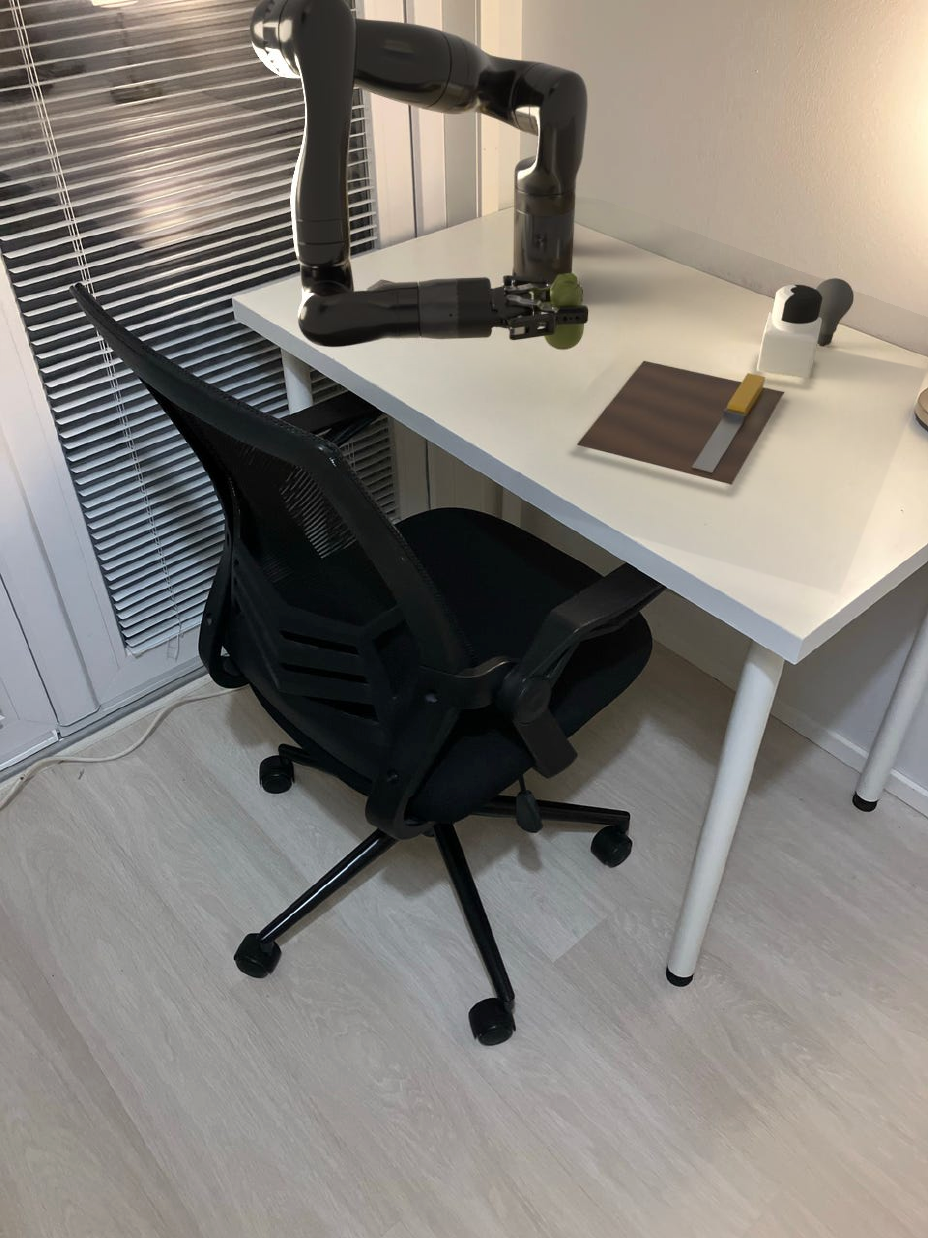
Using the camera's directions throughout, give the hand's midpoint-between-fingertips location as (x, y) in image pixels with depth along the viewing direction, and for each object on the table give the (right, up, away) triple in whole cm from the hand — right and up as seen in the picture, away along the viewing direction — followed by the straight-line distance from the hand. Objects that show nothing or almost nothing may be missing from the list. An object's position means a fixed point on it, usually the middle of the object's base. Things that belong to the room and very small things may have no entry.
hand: (584, 304), depth 136 cm
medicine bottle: (+29, -6, +12) cm, 32 cm away
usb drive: (-25, +8, +29) cm, 40 cm away
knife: (+18, -16, -2) cm, 25 cm away
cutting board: (+13, -16, +2) cm, 20 cm away
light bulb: (+37, -1, +17) cm, 41 cm away
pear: (-2, -5, +4) cm, 7 cm away
